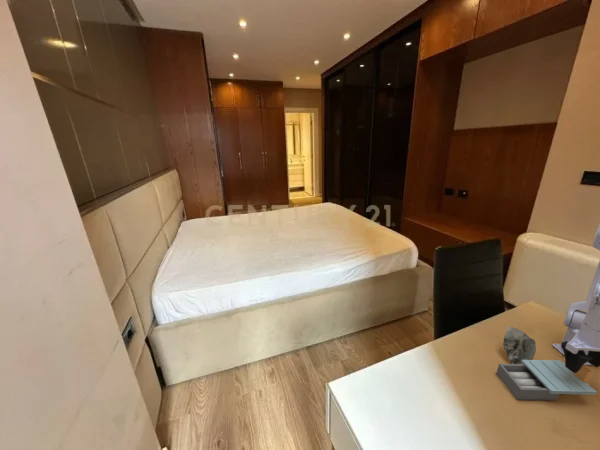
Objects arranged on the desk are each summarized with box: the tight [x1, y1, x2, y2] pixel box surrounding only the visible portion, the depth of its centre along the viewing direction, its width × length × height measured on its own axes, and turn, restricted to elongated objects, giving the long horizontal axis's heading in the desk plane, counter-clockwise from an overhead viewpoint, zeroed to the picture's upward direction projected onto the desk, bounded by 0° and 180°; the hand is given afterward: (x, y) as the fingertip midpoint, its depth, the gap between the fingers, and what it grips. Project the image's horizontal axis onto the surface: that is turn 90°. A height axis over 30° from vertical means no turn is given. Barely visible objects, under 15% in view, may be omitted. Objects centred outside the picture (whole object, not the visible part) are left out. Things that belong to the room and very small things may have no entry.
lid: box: [520, 359, 597, 396], centre depth 67 cm, size 12×10×4 cm
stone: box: [502, 325, 537, 364], centre depth 79 cm, size 10×10×10 cm
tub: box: [495, 363, 560, 402], centre depth 69 cm, size 10×8×4 cm
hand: (581, 366), depth 66 cm, fingers open, 7 cm apart
